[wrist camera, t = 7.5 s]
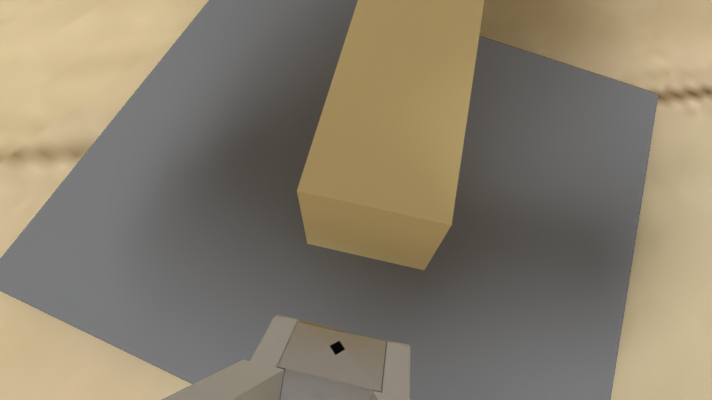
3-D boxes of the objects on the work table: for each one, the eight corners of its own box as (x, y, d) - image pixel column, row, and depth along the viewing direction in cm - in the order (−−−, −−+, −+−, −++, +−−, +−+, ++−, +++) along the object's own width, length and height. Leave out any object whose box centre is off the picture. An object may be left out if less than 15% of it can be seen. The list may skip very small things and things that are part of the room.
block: (296, 190, 14) (374, -51, 19) (307, 243, 19) (367, 37, 24) (451, 224, 14) (489, -30, 19) (424, 270, 18) (460, 55, 24)
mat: (-10, 285, 18) (-19, 281, 18) (244, -34, 27) (242, -42, 26) (575, 568, 15) (583, 573, 14) (652, 100, 23) (658, 94, 23)
